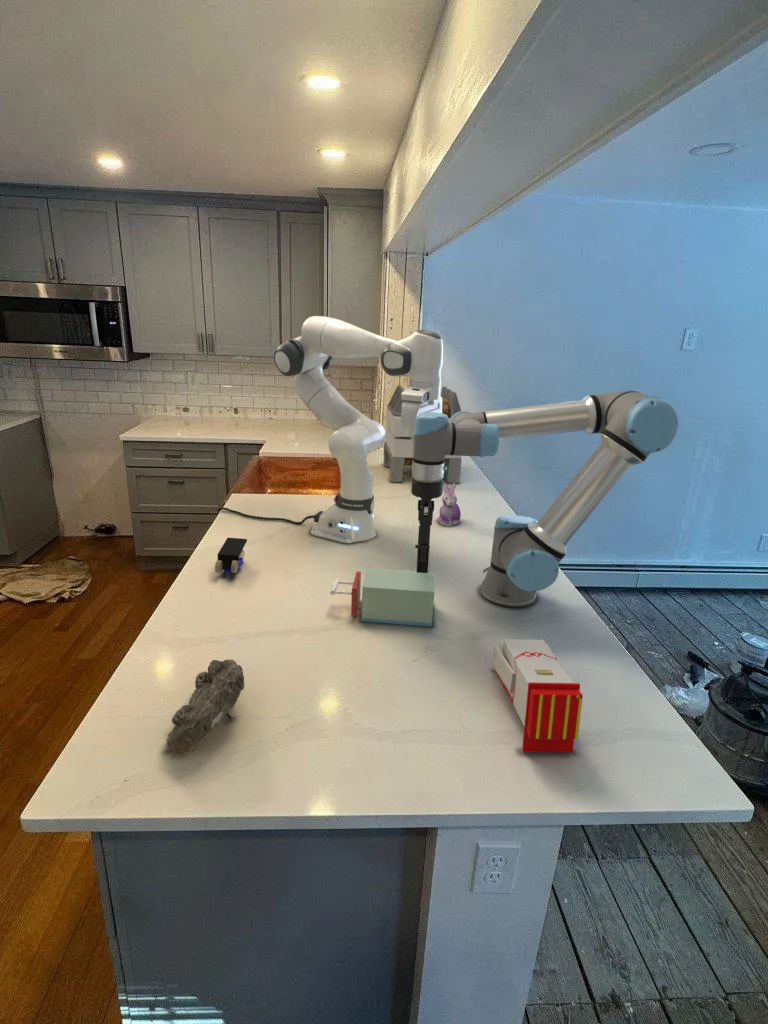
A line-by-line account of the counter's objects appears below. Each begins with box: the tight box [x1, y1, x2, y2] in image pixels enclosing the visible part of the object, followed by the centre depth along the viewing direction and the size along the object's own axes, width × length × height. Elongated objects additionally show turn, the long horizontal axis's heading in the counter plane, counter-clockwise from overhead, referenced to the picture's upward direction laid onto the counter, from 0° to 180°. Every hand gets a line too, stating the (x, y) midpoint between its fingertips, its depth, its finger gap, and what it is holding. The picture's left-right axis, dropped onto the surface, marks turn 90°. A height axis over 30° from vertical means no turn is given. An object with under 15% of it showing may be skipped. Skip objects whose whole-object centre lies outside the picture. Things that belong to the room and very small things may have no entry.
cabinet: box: [360, 567, 435, 627], centre depth 146 cm, size 18×11×10 cm, turn 86°
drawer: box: [329, 571, 362, 617], centre depth 147 cm, size 22×10×8 cm, turn 86°
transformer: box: [383, 384, 463, 484], centre depth 268 cm, size 34×33×41 cm
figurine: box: [438, 483, 462, 527], centre depth 210 cm, size 9×10×15 cm
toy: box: [491, 638, 584, 753], centre depth 114 cm, size 12×13×30 cm
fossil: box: [166, 658, 245, 754], centre depth 106 cm, size 22×10×15 cm
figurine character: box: [214, 537, 248, 578], centre depth 166 cm, size 7×8×15 cm
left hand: (421, 440), depth 163 cm, fingers open, 8 cm apart
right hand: (422, 560), depth 142 cm, fingers open, 13 cm apart
